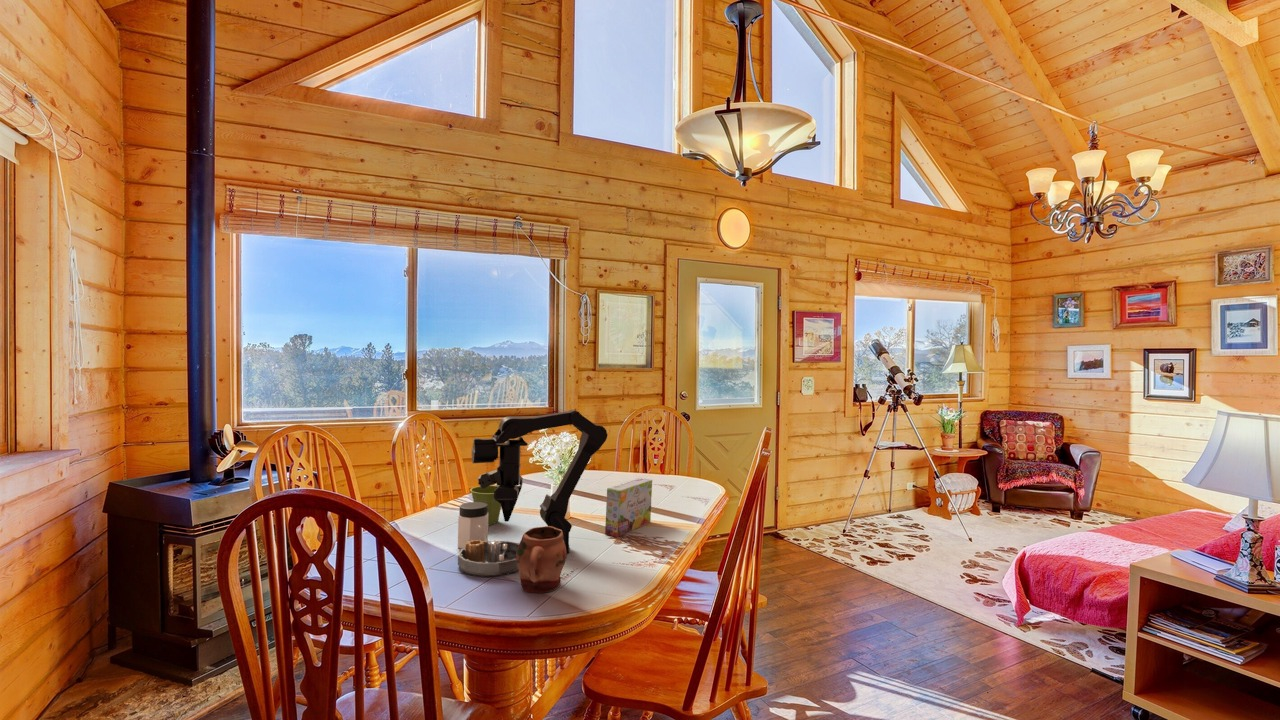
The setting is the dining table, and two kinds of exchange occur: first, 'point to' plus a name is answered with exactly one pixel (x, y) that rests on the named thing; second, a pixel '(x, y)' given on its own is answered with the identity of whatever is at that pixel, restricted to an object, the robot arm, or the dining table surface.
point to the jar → (472, 523)
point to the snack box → (628, 506)
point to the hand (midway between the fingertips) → (508, 516)
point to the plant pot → (488, 501)
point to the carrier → (492, 560)
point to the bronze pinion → (475, 550)
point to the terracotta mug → (541, 559)
